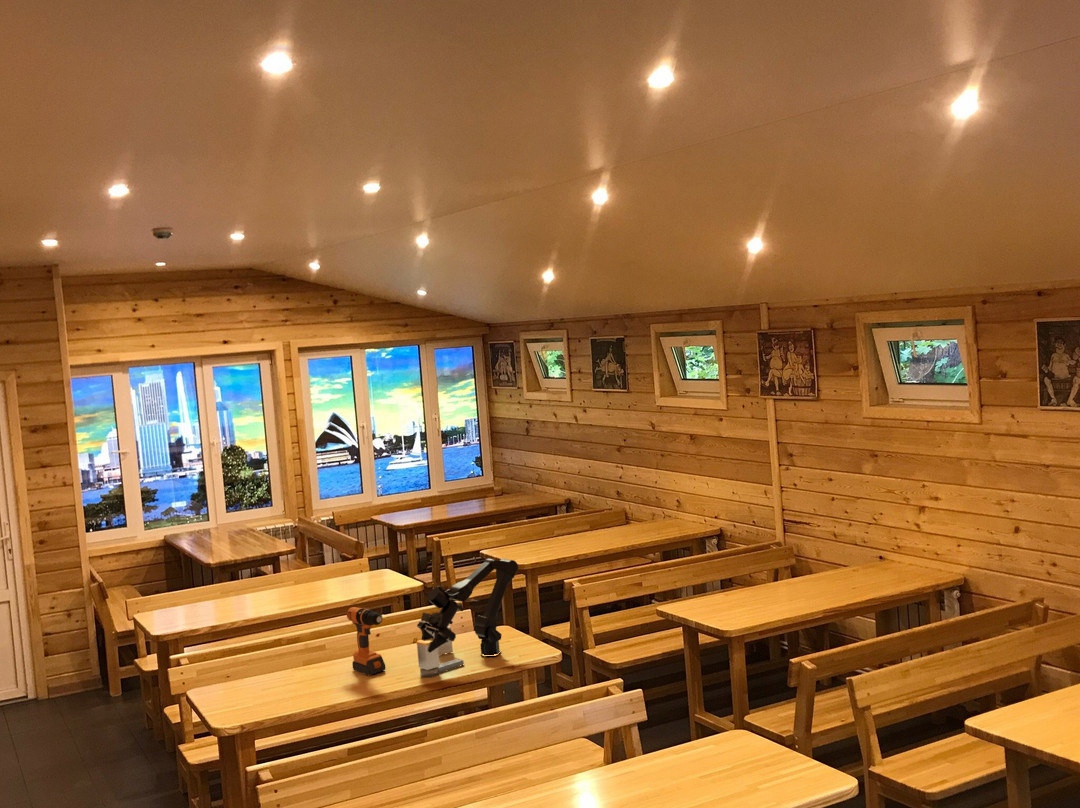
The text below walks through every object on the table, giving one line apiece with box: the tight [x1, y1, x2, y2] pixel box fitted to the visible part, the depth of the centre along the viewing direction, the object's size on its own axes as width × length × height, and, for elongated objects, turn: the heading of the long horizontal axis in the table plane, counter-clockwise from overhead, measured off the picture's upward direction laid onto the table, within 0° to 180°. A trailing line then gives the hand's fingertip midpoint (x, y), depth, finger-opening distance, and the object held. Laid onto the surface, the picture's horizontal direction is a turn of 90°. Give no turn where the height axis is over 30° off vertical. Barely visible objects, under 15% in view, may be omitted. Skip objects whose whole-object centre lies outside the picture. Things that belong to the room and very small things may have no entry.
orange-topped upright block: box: [416, 638, 440, 670], centre depth 388 cm, size 6×6×10 cm
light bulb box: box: [432, 625, 454, 656], centre depth 417 cm, size 11×7×11 cm, turn 25°
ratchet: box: [419, 658, 465, 678], centre depth 391 cm, size 18×7×5 cm, turn 130°
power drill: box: [346, 606, 386, 676], centre depth 397 cm, size 22×7×25 cm, turn 41°
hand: (424, 650), depth 387 cm, fingers closed on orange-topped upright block, 6 cm apart
